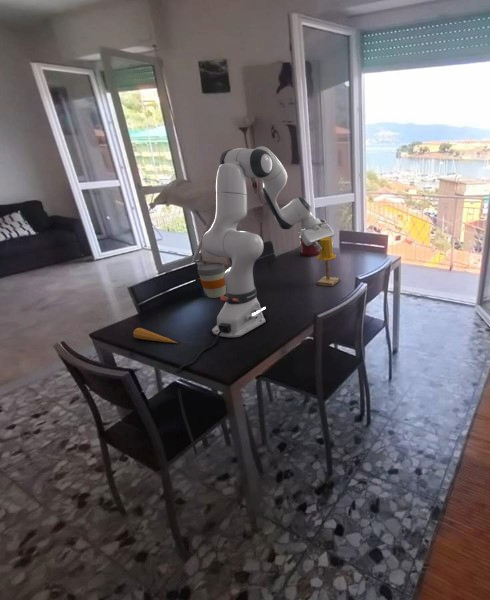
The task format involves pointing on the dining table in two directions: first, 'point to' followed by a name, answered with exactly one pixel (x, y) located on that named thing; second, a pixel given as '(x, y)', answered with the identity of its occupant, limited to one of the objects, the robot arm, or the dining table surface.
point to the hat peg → (327, 277)
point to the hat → (326, 249)
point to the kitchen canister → (308, 249)
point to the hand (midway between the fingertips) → (326, 247)
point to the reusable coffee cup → (213, 279)
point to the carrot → (150, 336)
